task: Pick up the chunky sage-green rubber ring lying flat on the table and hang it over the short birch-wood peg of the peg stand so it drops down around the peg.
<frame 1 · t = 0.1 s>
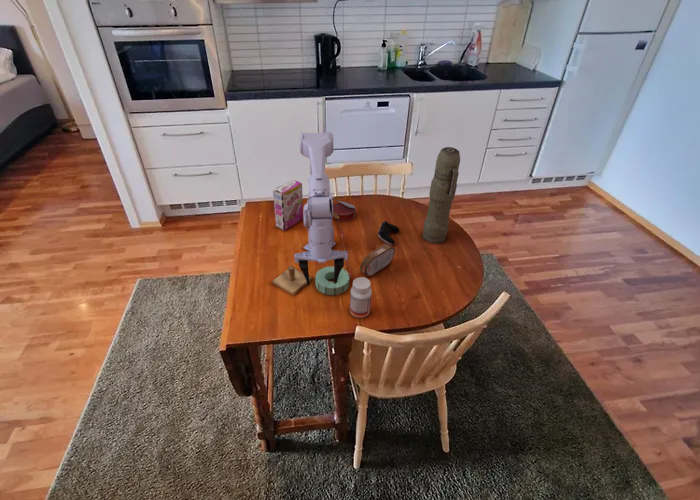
hand: (321, 282, 112), 11 cm above the table, tool pointing down, fingers open, 7 cm apart
gaming controller: (387, 237, 150), on the table
peg stand: (292, 281, 128), on the table
candy bar box: (290, 223, 156), on the table
canned food: (343, 215, 163), on the table
tin: (377, 270, 135), on the table
ring: (332, 283, 128), on the table
thermos: (433, 237, 152), on the table
pill bottle: (359, 311, 118), on the table
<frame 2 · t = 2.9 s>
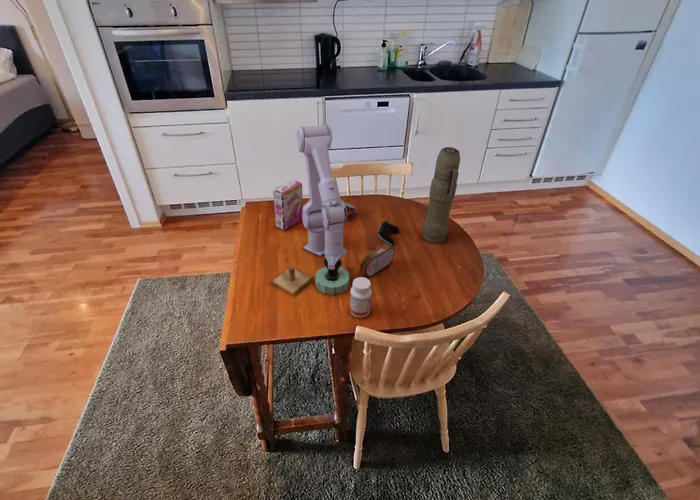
hand: (333, 272, 130), 1 cm above the table, tool pointing down, fingers closed on ring, 3 cm apart
ring: (332, 283, 128), on the table, touching gripper
everything else where it was.
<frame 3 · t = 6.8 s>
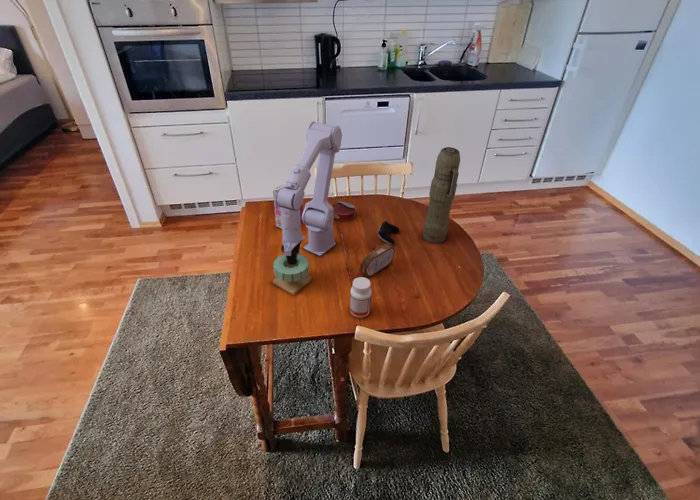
hand: (293, 260, 128), 6 cm above the table, tool pointing down, fingers closed on ring, 3 cm apart
ring: (291, 270, 126), point 5 cm above the table, touching gripper
everything else where it was.
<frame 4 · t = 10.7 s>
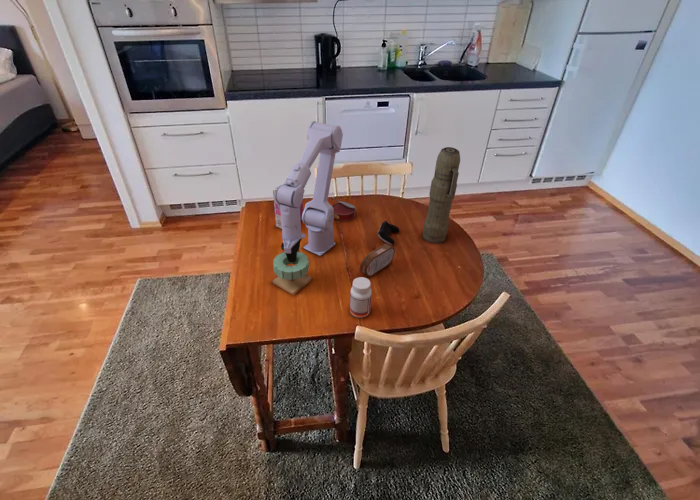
hand: (293, 258, 127), 7 cm above the table, tool pointing down, fingers closed on ring, 3 cm apart
ring: (291, 268, 125), point 5 cm above the table, touching gripper
everything else where it was.
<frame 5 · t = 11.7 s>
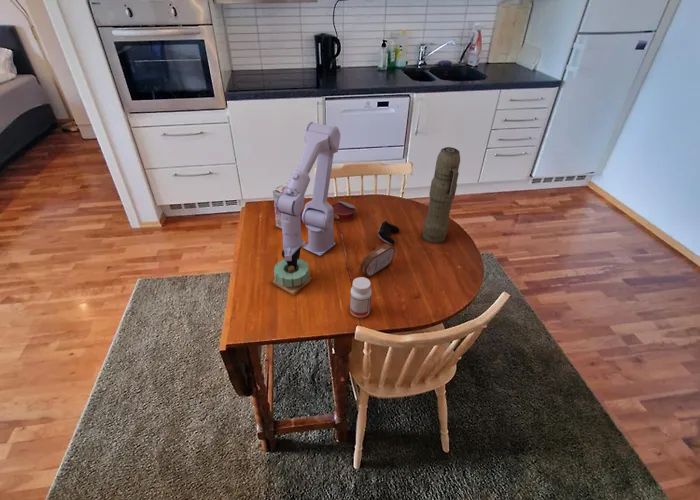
hand: (293, 264, 129), 4 cm above the table, tool pointing down, fingers closed on ring, 3 cm apart
ring: (291, 275, 127), point 3 cm above the table, touching gripper
everything else where it was.
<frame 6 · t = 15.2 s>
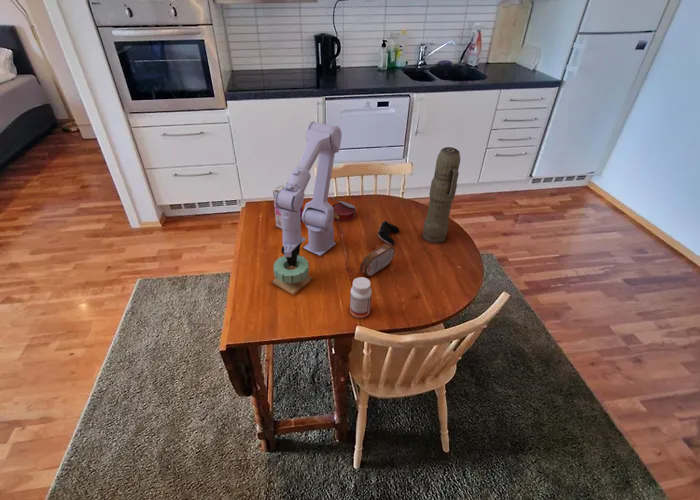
hand: (293, 261, 128), 5 cm above the table, tool pointing down, fingers closed on ring, 3 cm apart
ring: (291, 272, 126), point 4 cm above the table, touching gripper
everything else where it was.
when the fingers open (7 cm above the table, at t = 18.4 s): ring drops 4 cm, resting on peg stand.
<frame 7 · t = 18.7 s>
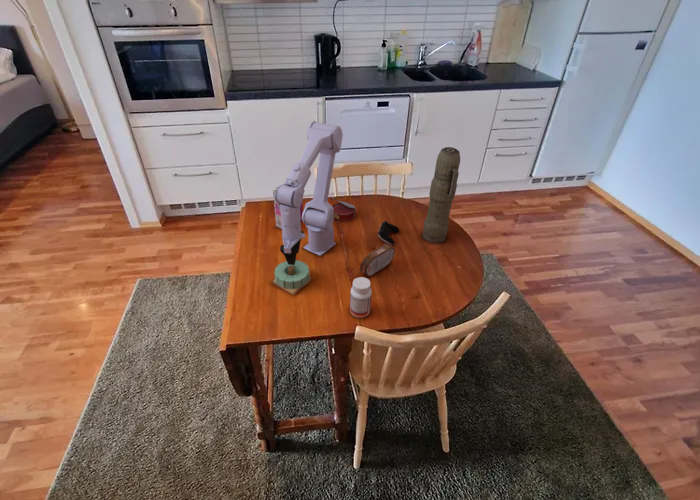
hand: (293, 258, 127), 7 cm above the table, tool pointing down, fingers open, 6 cm apart
ring: (292, 277, 128), point 1 cm above the table, touching peg stand
everything else where it was.
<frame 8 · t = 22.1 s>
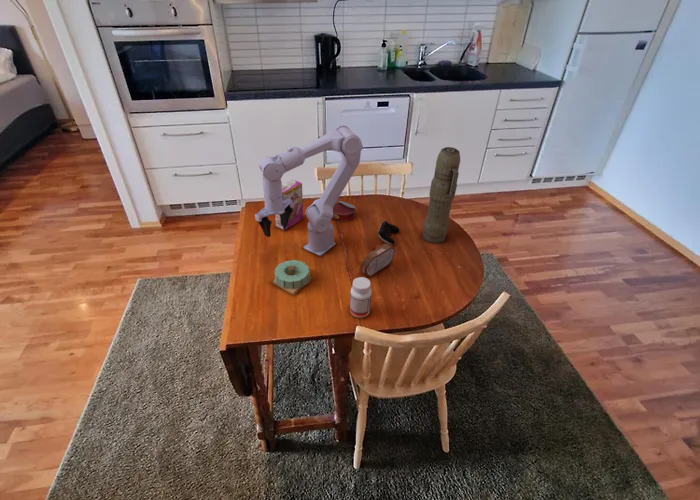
hand: (275, 231, 133), 10 cm above the table, tool pointing down, fingers open, 7 cm apart
nothing on the table moved.
at the end: ring 0.7 cm from the peg stand (horizontally); ring point 1.2 cm above the table; ring tilted 0° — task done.
